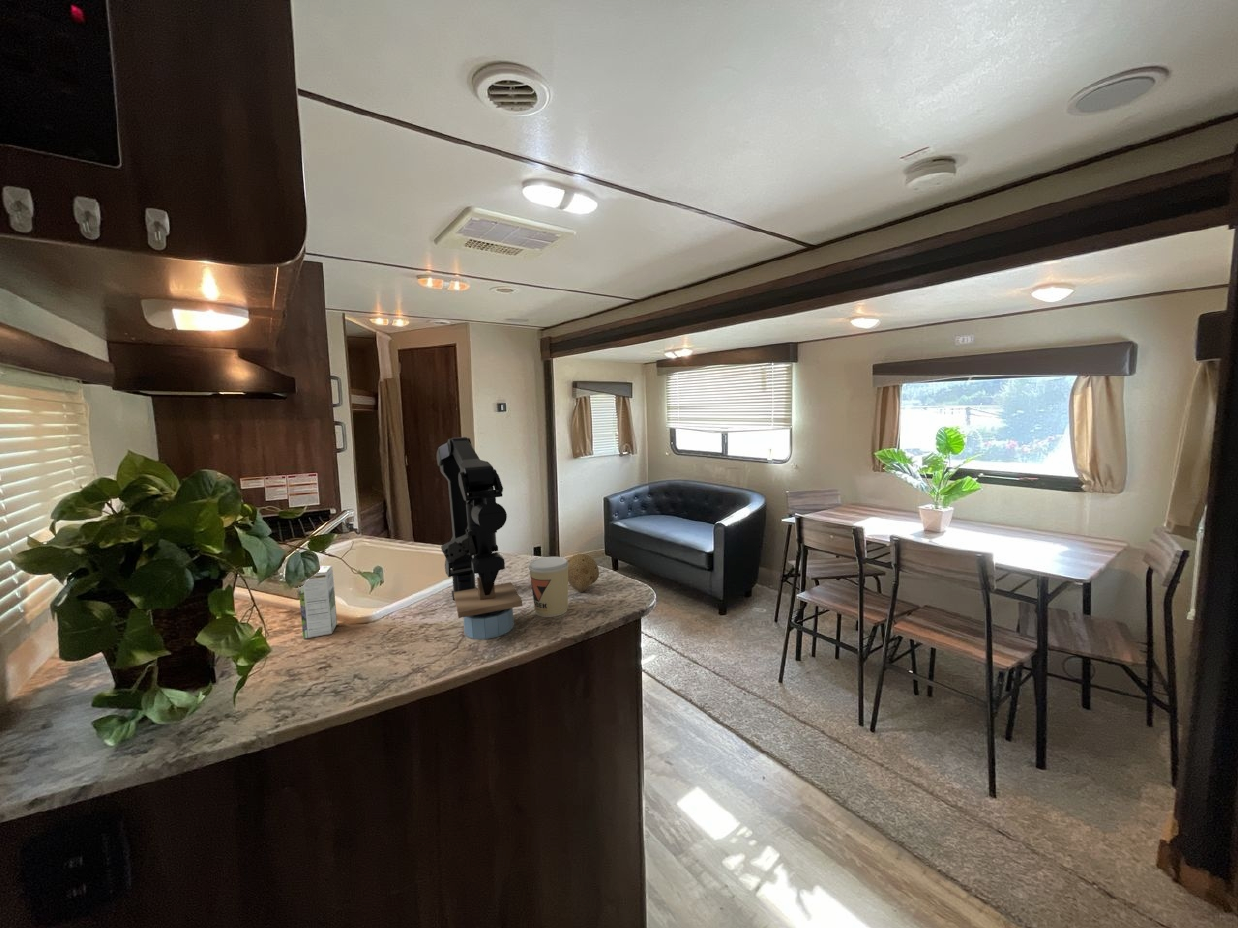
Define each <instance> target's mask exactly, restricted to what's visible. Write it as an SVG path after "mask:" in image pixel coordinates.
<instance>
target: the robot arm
mask: <svg viewBox="0 0 1238 928" xmlns="http://www.w3.org/2000/svg"><path fill="white" fill-rule="evenodd" d="M436 463H437V466H438V467H439V471H440V473H441V475H443V477H444V478H445V479H446V481H447V486H448V487H447V488H448V497H449V509H450V518H451V519H450V520H451V529H452V530H451V531H452V537H451V539H450V541H448V542H446V543H444V544H442V545H441V546H440V547H441V548H440V549H441V552H442V554H443V555H444V558H445V560H444V571H445V574H446V576H447V577H448V578H452V588H453V590H452V591H451V597H452V600H453V601H455V598H454V592H457V591H463V590H469V589H475V588H477V586H476V575H478V577H480V579H481V583H482V586H483V590H484V594H485V595H490V593H491V591H492V588H493V585H495V582H496V580H497V576H498V575H499V572H500V571H503V570H505V569H506V565H505V563H506V562H505V559H504V557H503V556H502V555H501V554H500V553H499V546H498V545H497V533H498V531H499V530H500V529H502V528H503V527H504V526H505V524H506V522H507V517H508V514H507V512H506V509H505V507H503V506H502V504H500V503H497V498H500V497H501V498H502V497H503V491H504V486H503V484H502V481H501V478H500V475H499V474H498V472H497V470H496V468H494V467H493V465H492V464H491V463H490V462H488V461H486V460H483V459H480V457H479V456H478V454H477V452H476V451H475V449H474V448H473V445H472V440H471V438H470V437H466V436H460V437H451V438H448V439H447V442H445V443H443V444H442V445H440V446H438V449H437V451H436ZM475 574H476V575H475Z"/></svg>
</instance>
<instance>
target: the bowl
mask: <svg viewBox="0 0 1238 928" xmlns="http://www.w3.org/2000/svg"><path fill="white" fill-rule="evenodd" d="M513 610H514V608H509V609H504V610H499V611H493V612H488V613H483V614H478V615H472V616H467V617H462V619H463V632H464V636H465V637H467V638H470V639H473V640H488V639H489V640H490V639H493V638H498V637H501V636H503V635H505V634H507V633H509V632H510V631H511V630H512V629H513V628H514V626H515V622H514V611H513Z"/></svg>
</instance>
